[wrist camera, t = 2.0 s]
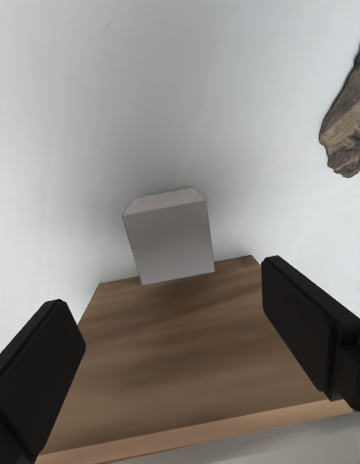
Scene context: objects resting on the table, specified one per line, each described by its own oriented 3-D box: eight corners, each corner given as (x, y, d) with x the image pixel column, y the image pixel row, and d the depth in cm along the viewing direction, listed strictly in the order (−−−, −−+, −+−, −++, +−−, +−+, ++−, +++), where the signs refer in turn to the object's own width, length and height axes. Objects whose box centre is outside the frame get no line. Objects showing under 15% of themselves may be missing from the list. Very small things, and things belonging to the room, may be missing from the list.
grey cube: (135, 197, 18) (121, 215, 12) (193, 186, 18) (205, 199, 12) (149, 249, 20) (142, 285, 14) (200, 239, 20) (214, 271, 14)
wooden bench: (99, 284, 21) (4, 462, 9) (251, 255, 21) (372, 390, 9) (141, 388, 27) (122, 568, 15) (255, 365, 28) (326, 528, 15)
